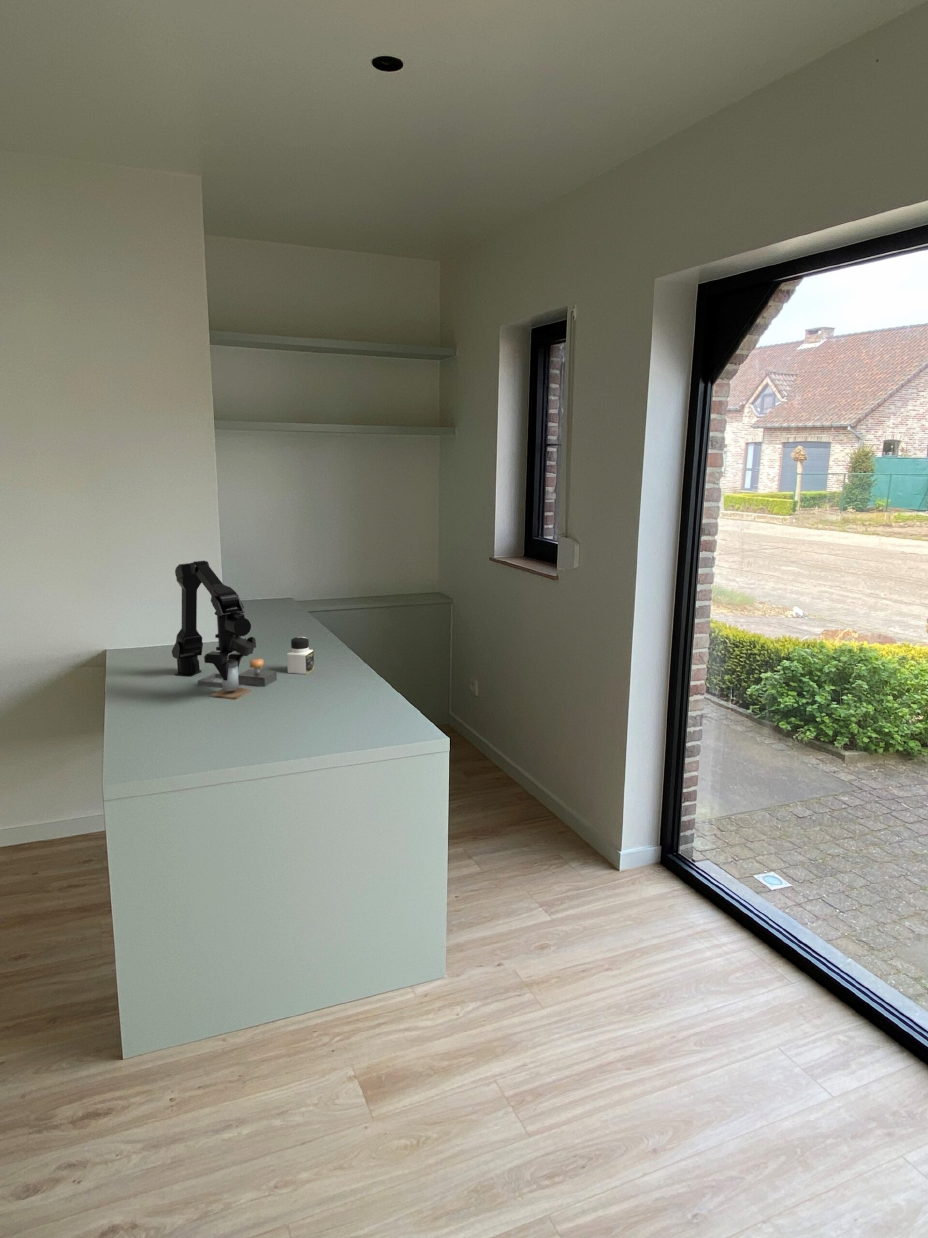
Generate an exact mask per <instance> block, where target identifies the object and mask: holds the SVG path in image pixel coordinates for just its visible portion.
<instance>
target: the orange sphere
mask: <svg viewBox="0 0 928 1238" xmlns="http://www.w3.org/2000/svg"><path fill="white" fill-rule="evenodd" d="M264 665H265V664H264V659H263V658H252V659H250V660H249V667H250V669H254V674H259V673H260V670H261V668H263V667H264Z"/></svg>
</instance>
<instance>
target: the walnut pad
mask: <svg viewBox="0 0 928 1238" xmlns="http://www.w3.org/2000/svg"><path fill="white" fill-rule="evenodd" d="M251 691H252V689H251V688H244V687H242V688H241V687H239V689H237V690H234V691H225V690H223V688H220V689H219V690H217V691H216V692H213V693H212V694H210V697H211V698H218V697H219V698H220V699H229V700H230V699H231V700H237V699H239V698H242V697H243V696H244V695H246V694H249V693H250V692H251Z"/></svg>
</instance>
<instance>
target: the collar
mask: <svg viewBox="0 0 928 1238" xmlns="http://www.w3.org/2000/svg"><path fill="white" fill-rule="evenodd" d="M214 679H222V676H221V675H220V673H219V672H213V673H211V674H209V675H206V676H205V677H203V678H200V679H198V680H197V685H198V686H202V687H210V688H211V687H212V688H213V687H214V688H221V689H223V685H222V681H215V680H214ZM212 680H213V681H212Z"/></svg>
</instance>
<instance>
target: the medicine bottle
mask: <svg viewBox="0 0 928 1238" xmlns="http://www.w3.org/2000/svg"><path fill="white" fill-rule="evenodd" d="M290 643H291V644H290V648H291V649H290V650H291V651H289V652H287V654H286V662H287V674H299V675H307V674H308V673H310V672H312V671H314V669H315V660H314V658H315V656H314V655H315V654H314V650H313V649H310V646H309V645H310V644H309V643H310V641H309V639H308V637H305V636H297V637H296V636H295V637H293V638H291V639H290Z"/></svg>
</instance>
